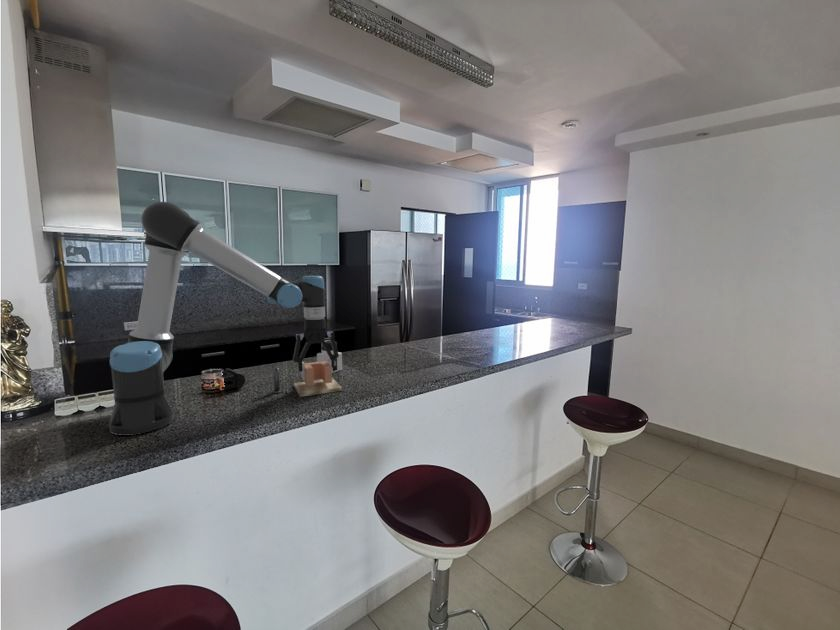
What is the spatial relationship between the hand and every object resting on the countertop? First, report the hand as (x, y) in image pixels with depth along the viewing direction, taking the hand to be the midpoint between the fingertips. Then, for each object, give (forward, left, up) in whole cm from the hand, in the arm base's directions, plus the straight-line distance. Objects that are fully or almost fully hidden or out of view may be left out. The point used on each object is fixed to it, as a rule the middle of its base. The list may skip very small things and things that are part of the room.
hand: (316, 377), depth 144 cm
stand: (-14, +1, -4) cm, 15 cm away
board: (0, -1, -4) cm, 4 cm away
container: (+10, +21, -4) cm, 24 cm away
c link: (0, -1, -1) cm, 1 cm away
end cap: (-29, +13, -4) cm, 32 cm away
